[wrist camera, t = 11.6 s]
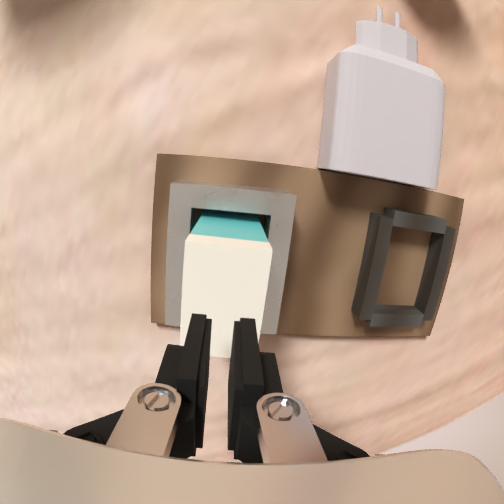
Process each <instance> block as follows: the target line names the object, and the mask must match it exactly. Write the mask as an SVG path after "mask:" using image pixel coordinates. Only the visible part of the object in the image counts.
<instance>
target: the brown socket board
mask: <svg viewBox="0 0 504 504" xmlns="http://www.w3.org/2000/svg"><path fill="white" fill-rule="evenodd" d="M178 180H186V181H199V182H211V183H222V184H232V185H243V186H252V187H262V188H270V189H279V190H287V191H290V192H292V193H294V194H295V195H297V197H296V204H295V212H294V219H293V227H292V234H291V241H290V248H289V255H288V262H287V269H286V275H285V282H284V289H283V295H282V301H281V308H280V314H279V320H278V326H277V332H276V334H289V335H313V336H362V337H383V336H430V334H431V331H432V328H433V325H434V322H435V319H436V316H437V313H438V310H439V306H440V303H441V300H442V296H443V293H444V289H445V286H446V282H447V278H448V274H449V271H450V267H451V263H452V258H453V254H454V250H455V245H456V241H457V236H458V231H459V226H460V221H461V215H462V209H463V203H464V199H461V198H457V197H453V196H449V195H445V194H441V193H437V192H433V191H428V190H424V189H419V188H415V187H410V186H406V185H401V184H396V183H391V182H386V181H381V180H376V179H370V178H365V177H359V176H354V175H348V174H342V173H336V172H330V171H324V170H317V169H310V168H303V167H296V166H289V165H281V164H273V163H265V162H256V161H247V160H237V159H226V158H215V157H203V156H189V155H174V154H157V162H156V174H155V187H154V202H153V221H152V247H151V323H159V324H165V282H166V250H167V229H168V211H169V197H170V184H171V183H172V182H175V181H178ZM204 210H211V211H220V212H229V213H238V214H247V215H256V216H258V218H259V221H260V223H261V225H262V228H263V230H264V221H265V215H264V214H254V213H244V212H234V211H223V210H212V209H201V208H197V212H196V223H197V222H198V220H199V218H200V217H201V215H202V213H203V212H204Z"/></svg>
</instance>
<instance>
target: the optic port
mask: <svg viewBox="0 0 504 504" xmlns="http://www.w3.org/2000/svg"><path fill="white" fill-rule="evenodd" d="M296 197H297V195H295V194H294V193H292V192H290V191H287V190H279V189H270V188H262V187H252V186H243V185H232V184H222V183H211V182H199V181H186V180H178V181H175V182H172V183H171V184H170V197H169V211H168V229H167V250H166V282H165V325H169V326H178V327H180V323H181V300H182V280H183V264H184V249H185V240H186V239H187V237H188V235H189V234H190V233H191V231H192V230H193V228H194V226H195V225H196V212H197V208H201V209H212V210H223V211H234V212H244V213H254V214H264V215H265V221H264V232H265V235H266V237H267V239H268V242H269V243H270V245H271V247H272V250H273V252H272V259H271V266H270V273H269V279H268V286H267V293H266V299H265V306H264V312H263V318H262V325H261V331H260V334H275V335H276V332H277V326H278V320H279V314H280V308H281V301H282V295H283V289H284V282H285V275H286V269H287V262H288V255H289V248H290V241H291V234H292V227H293V219H294V212H295V204H296Z"/></svg>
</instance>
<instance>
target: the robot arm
mask: <svg viewBox="0 0 504 504" xmlns="http://www.w3.org/2000/svg"><path fill="white" fill-rule="evenodd" d="M211 328H212V319H208V318H207V315H206V314H195V313H192V315H191V319H190V323H189V327H188V331H187V335H186V339H185V343H184V346H180V345H171V344H168V345H167V347H166V351H165V354H164V357H163V360H162V363H161V366H160V369H159V372H158V375H157V378H156V382H155V383H150V384H146V385H142V386H141V387H139V388H137V389H136V390H135V391H134V393H133V394H132V396H131V398H130V400H129V402H128V404H127V405H126V407H125V409H123V410H120V411H118V412H115V413H113V414H110V415H107V416H105V417H102V418H99V419H96V420H94V421H91V422H88V423H85V424H82V425H80V426H77V427H74V428H72V429H70V430H67V431H66V432H65V433H64V434H60V433H58V431H57V430H46V429H43V428H39V427H36V426H33V425H30V424H26V423H22V422H18V421H14V420H10V419H4V418H0V504H504V489H503V488H502V486H501V485H500V483H499V482H498V481H497V479H496V478H495V477H494V476H493V474H492V473H491V472H490V471H489V470H488V468H487V467H486V466H485V465H484V464H483V463H481V461H479V460H478V459H477V458H475V457H474V456H472V455H470V454H468V453H464V452H460V451H454V450H442V449H434V450H433V449H432V450H431V449H430V450H417V451H408V452H401V453H394V454H387V455H384V454H375V456H371V457H370V456H369V455H368V454H367V453H366V452H365V451H363V450H362V449H360V448H358V447H356V446H354V445H352V444H350V443H348V442H346V441H344V440H342V439H340V438H338V437H336V436H334V435H332V434H330V433H328V432H326V431H325V430H323V429H321V428H319V427H317V426H315V425H314V424H312V422H311V420H310V417H309V415H308V413H307V410H306V408H305V406H304V404H303V403H302V402H301V401H300V400H299V399H298V398H296V397H294V396H292V395H289V394H285V393H283V390H282V385H281V381H280V376H279V371H278V366H277V362H276V357H275V354H274V353H264V352H259V344H258V337H257V330H256V322H255V319H253V318H240V321H234V328H233V338H232V348H231V358H230V369H229V379H228V450H234V459H239V460H240V461H242V462H243V463H235V462H217V461H204V460H194V459H187V458H189V457H190V456H195V455H196V448H202V447H203V435H204V423H205V412H206V401H207V390H208V378H209V360H210V344H211Z"/></svg>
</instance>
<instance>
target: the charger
mask: <svg viewBox="0 0 504 504" xmlns="http://www.w3.org/2000/svg"><path fill="white" fill-rule="evenodd" d="M394 16H395V26H392V25H389V24H386V23H383V22H382V8H381V7H376V21H369V20H357V21H356V44H355V45H351V46H349V47H348V48H346V49H344V50H343V51H341V52H339V53H338V54H337V55H336V56H335V57H334V58H333V59H332V60H331V61H330V62H329V63H328V64H327V74H326V86H325V97H324V108H323V118H322V128H321V137H320V146H319V155H318V163H317V168H321V169H327V170H332V171H338V172H344V173H349V174H354V175H360V176H365V177H371V178H376V179H381V180H387V181H392V182H398V183H403V184H408V185H414V186H419V187H424V188H429V189H434V190H437V183H438V175H439V167H440V158H441V148H442V136H443V121H444V98H445V85H444V83H443V82H442V80H441V79H440V78H439V76H438V75H437V74H436V72H435V71H434V70H432V69H430V68H428V67H425V66H423V65H420V64H418V48H417V39H416V38H415V37H414V36H413V35H412V34H410V33H409V32H408V31H406V30H403V29H401V25H400V14H399V13H395V14H394Z"/></svg>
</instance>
